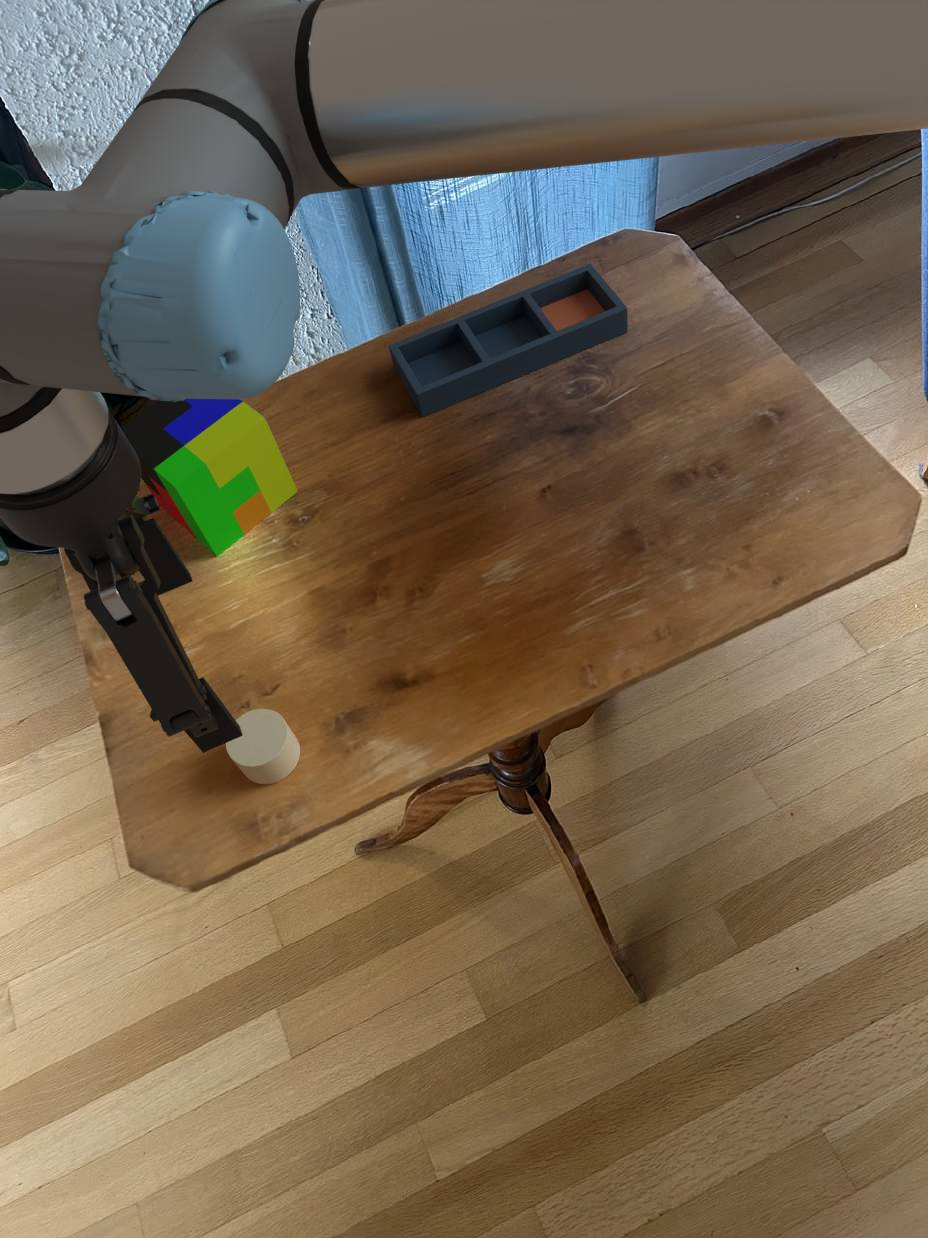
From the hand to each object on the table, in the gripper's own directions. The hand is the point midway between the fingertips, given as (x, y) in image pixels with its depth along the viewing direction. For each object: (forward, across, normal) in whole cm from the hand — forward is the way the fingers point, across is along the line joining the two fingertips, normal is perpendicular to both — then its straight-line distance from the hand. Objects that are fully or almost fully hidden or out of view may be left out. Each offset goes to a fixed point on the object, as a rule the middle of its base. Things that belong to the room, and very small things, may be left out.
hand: (196, 658), depth 67 cm
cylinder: (+16, 0, 0) cm, 16 cm away
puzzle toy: (+16, -28, +4) cm, 33 cm away
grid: (+16, -32, +36) cm, 51 cm away
